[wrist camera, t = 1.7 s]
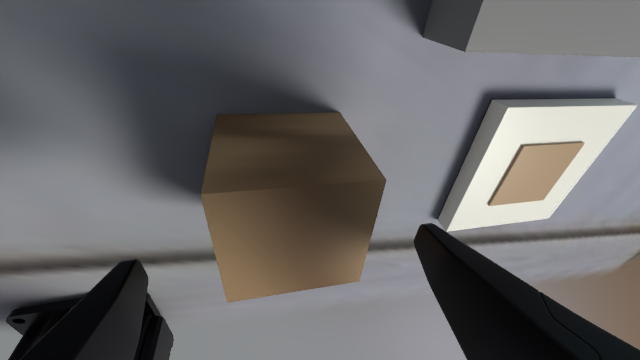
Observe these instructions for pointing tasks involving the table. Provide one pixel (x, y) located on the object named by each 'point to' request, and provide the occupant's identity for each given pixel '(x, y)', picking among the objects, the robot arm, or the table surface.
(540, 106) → the tile
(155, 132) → the table surface
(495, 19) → the charcoal base block
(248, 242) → the walnut cube
